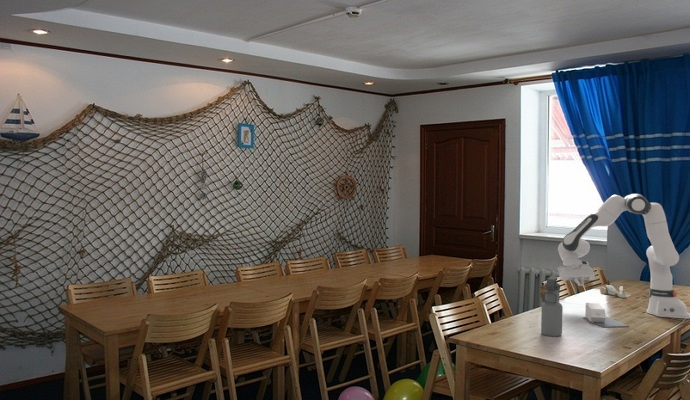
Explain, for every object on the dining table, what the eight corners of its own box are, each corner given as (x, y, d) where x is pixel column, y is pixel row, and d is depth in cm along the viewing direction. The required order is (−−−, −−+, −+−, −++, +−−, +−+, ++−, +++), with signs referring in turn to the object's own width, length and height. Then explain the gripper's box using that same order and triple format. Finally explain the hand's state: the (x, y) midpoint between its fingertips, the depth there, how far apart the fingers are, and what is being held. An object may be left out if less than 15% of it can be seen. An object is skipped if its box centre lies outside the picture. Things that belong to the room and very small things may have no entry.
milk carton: (598, 316, 333) (606, 324, 314) (585, 315, 334) (591, 323, 316) (599, 303, 332) (606, 311, 314) (585, 302, 334) (591, 310, 315)
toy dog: (623, 299, 385) (623, 285, 384) (596, 294, 399) (596, 281, 399) (633, 297, 392) (633, 283, 392) (605, 292, 407) (606, 279, 406)
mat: (583, 318, 330) (583, 317, 330) (606, 317, 332) (606, 316, 332) (603, 327, 310) (603, 326, 310) (628, 326, 312) (628, 325, 312)
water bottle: (559, 338, 289) (560, 280, 288) (538, 335, 294) (539, 278, 293) (563, 333, 298) (565, 277, 297) (543, 330, 303) (544, 275, 302)
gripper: (558, 263, 350) (566, 282, 341) (590, 262, 353) (599, 281, 344) (554, 269, 355) (562, 288, 346) (586, 268, 358) (595, 287, 349)
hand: (581, 285), depth 345 cm, fingers closed
